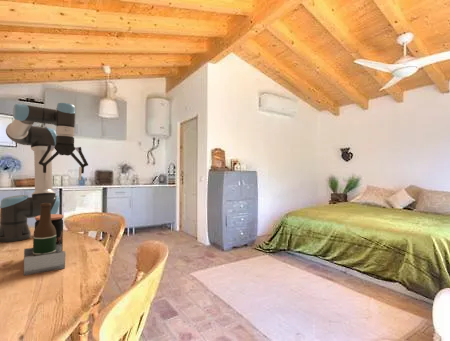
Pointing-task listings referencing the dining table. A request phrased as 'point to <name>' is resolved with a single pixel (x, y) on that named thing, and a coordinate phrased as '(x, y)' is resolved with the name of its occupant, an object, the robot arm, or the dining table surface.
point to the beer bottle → (44, 233)
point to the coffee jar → (58, 225)
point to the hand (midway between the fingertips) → (63, 180)
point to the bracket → (43, 261)
